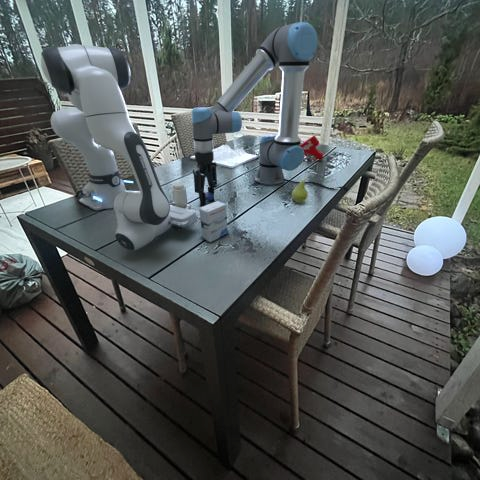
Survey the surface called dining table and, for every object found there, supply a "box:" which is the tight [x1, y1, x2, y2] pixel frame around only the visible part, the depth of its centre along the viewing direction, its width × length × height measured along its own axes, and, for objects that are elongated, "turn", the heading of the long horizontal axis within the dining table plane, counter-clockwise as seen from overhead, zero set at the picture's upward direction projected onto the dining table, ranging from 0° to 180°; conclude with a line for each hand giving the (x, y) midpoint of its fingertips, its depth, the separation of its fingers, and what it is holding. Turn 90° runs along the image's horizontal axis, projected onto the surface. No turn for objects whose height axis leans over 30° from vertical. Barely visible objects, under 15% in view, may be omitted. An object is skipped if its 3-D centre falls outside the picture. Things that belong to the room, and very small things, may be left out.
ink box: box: [198, 200, 228, 243], centre depth 95 cm, size 8×5×12 cm, turn 135°
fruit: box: [291, 174, 311, 204], centre depth 118 cm, size 7×8×12 cm
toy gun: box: [300, 135, 324, 163], centre depth 173 cm, size 18×4×15 cm
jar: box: [171, 182, 189, 208], centre depth 104 cm, size 5×5×15 cm
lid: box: [204, 191, 213, 202], centre depth 119 cm, size 6×6×2 cm
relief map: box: [190, 144, 259, 169], centre depth 178 cm, size 27×35×5 cm
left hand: (182, 205), depth 105 cm, fingers closed on jar, 5 cm apart
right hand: (207, 203), depth 121 cm, fingers closed on lid, 5 cm apart
